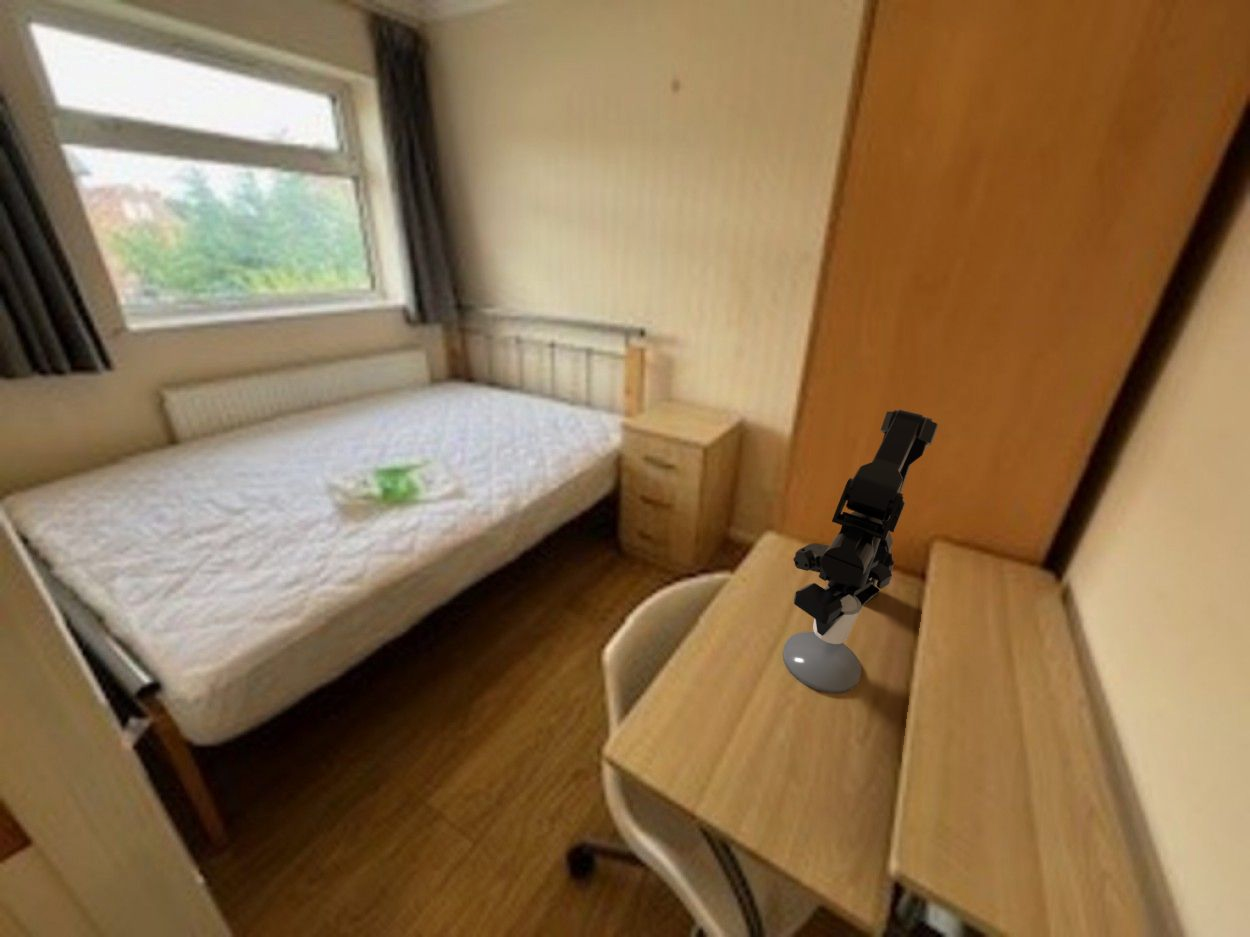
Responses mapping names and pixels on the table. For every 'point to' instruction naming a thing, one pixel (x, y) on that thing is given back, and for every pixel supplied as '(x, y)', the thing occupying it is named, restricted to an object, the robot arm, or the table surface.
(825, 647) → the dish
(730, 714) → the table surface
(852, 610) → the white cup
